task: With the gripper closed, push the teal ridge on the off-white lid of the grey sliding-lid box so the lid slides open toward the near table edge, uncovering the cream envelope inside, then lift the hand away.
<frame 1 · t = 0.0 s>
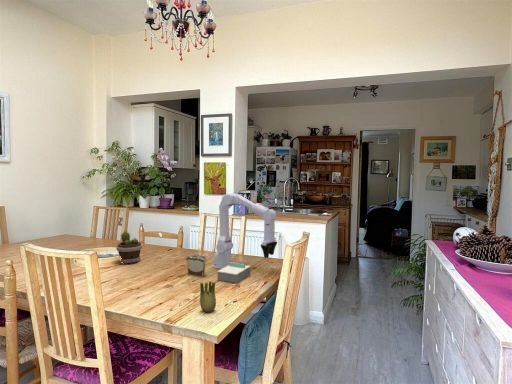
hand: (268, 256, 177), 10 cm above the table, tool pointing down, fingers open, 7 cm apart
fennel bulb: (208, 311, 129), on the table
lid: (234, 267, 170), point 6 cm above the table, slide at 0.0 cm
flowerpot: (129, 262, 197), on the table
grey sliding-lid box: (234, 277, 171), on the table
food container: (198, 274, 175), on the table
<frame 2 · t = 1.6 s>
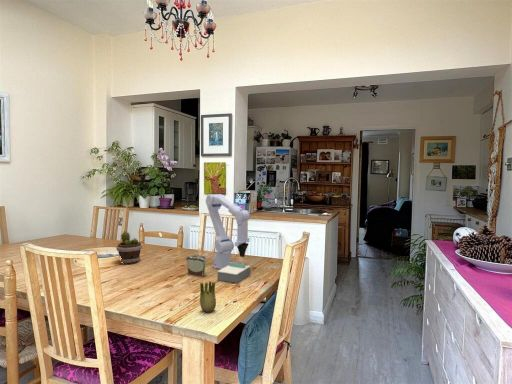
hand: (242, 256, 178), 9 cm above the table, tool pointing down, fingers closed
nothing on the table moved.
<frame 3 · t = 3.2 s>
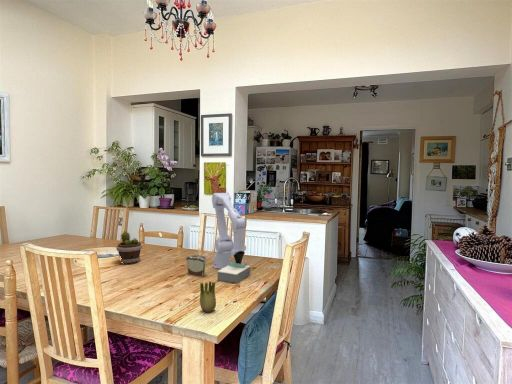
hand: (238, 265, 175), 6 cm above the table, tool pointing down, fingers closed
lid: (234, 267, 170), point 6 cm above the table, slide at 0.0 cm, touching gripper
everything else where it was.
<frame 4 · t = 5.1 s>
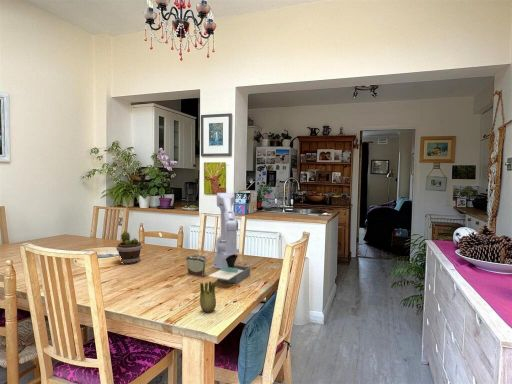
hand: (230, 269, 167), 6 cm above the table, tool pointing down, fingers closed
lid: (226, 271, 163), point 6 cm above the table, slide at 8.6 cm, touching gripper
everything else where it was.
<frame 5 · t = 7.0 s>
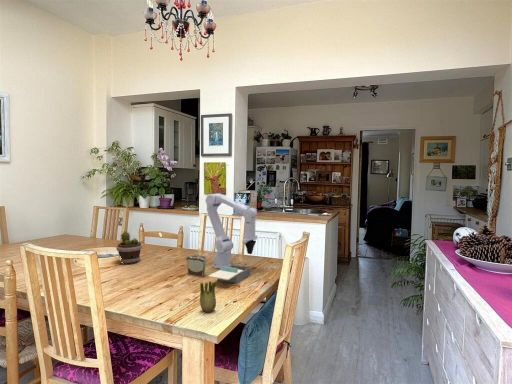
hand: (249, 253, 181), 10 cm above the table, tool pointing down, fingers closed
lid: (226, 271, 163), point 6 cm above the table, slide at 8.6 cm
everything else where it was.
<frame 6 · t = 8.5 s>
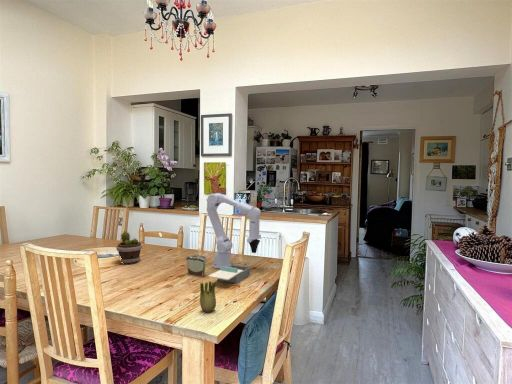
hand: (253, 252, 183), 10 cm above the table, tool pointing down, fingers closed
nothing on the table moved.
at the end: lid slide at 8.6 cm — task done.
